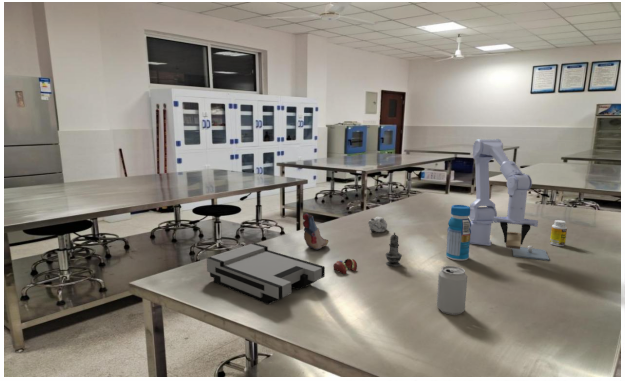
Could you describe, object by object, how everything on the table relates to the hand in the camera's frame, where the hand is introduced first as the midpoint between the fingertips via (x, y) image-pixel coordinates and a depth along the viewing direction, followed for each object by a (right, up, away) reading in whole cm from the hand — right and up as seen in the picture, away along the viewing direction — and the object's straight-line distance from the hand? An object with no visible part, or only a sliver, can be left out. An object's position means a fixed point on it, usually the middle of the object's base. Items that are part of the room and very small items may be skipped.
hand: (513, 242), depth 151 cm
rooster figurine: (-73, -4, +15) cm, 75 cm away
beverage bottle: (-19, -6, +4) cm, 21 cm away
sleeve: (0, -1, 0) cm, 1 cm away
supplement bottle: (+29, -4, +20) cm, 35 cm away
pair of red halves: (-63, -9, -9) cm, 65 cm away
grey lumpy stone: (-45, 0, +39) cm, 59 cm away
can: (-36, -14, -38) cm, 55 cm away
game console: (-90, -11, -21) cm, 93 cm away
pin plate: (+11, -5, +9) cm, 15 cm away
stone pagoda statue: (-45, -8, -3) cm, 46 cm away
